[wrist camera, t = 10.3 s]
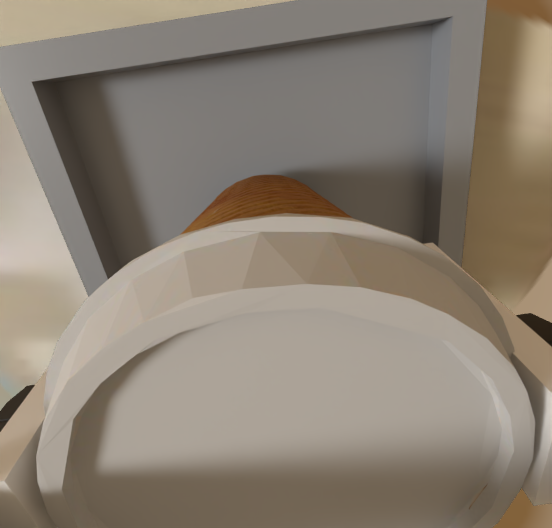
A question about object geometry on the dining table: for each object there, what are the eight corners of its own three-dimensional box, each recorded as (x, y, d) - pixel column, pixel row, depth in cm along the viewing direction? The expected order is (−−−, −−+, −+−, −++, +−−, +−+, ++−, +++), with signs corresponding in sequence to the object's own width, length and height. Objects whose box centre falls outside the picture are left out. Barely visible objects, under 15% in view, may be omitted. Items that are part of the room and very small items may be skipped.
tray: (432, 339, 23) (451, 367, 21) (148, 379, 23) (136, 410, 21) (454, -13, 15) (490, -30, 13) (23, 54, 15) (-16, 49, 13)
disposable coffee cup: (181, 329, 19) (89, 640, 8) (148, 139, 15) (-118, 270, 4) (361, 319, 20) (494, 604, 9) (377, 130, 15) (666, 229, 5)
